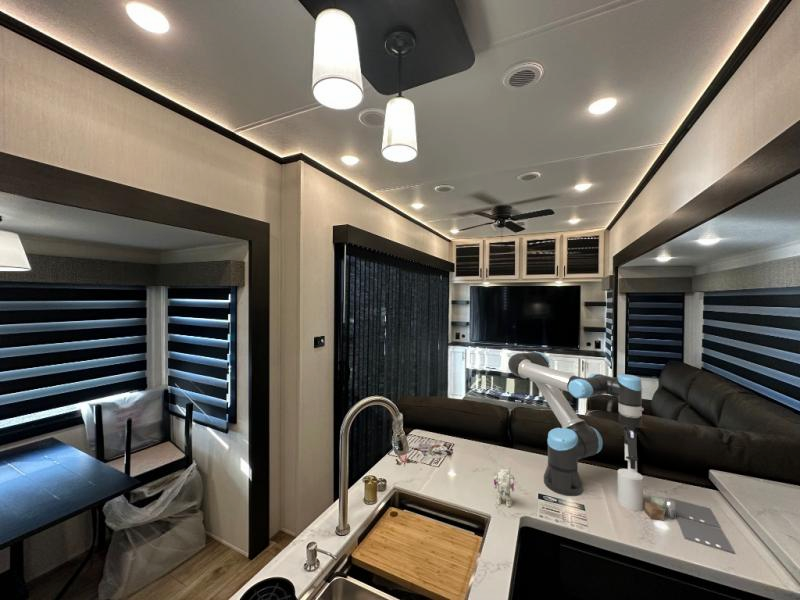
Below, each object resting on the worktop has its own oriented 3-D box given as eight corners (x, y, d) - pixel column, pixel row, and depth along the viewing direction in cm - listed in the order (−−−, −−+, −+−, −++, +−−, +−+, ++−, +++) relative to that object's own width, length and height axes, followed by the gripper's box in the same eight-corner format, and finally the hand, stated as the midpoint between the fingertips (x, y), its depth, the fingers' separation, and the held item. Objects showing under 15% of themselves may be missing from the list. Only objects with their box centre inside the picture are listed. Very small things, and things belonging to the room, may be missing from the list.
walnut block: (651, 519, 115) (651, 509, 115) (645, 512, 119) (645, 502, 119) (663, 521, 114) (663, 510, 114) (657, 513, 118) (657, 503, 118)
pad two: (676, 516, 117) (676, 514, 117) (669, 498, 127) (669, 497, 127) (720, 528, 111) (720, 527, 111) (709, 509, 121) (709, 507, 121)
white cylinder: (647, 512, 119) (647, 481, 119) (623, 509, 121) (623, 478, 121) (636, 499, 127) (635, 469, 127) (613, 496, 129) (613, 467, 129)
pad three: (684, 538, 106) (684, 537, 106) (676, 517, 116) (676, 516, 116) (734, 553, 100) (734, 552, 100) (721, 530, 110) (721, 528, 110)
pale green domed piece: (652, 507, 122) (652, 500, 122) (649, 501, 125) (649, 494, 125) (665, 511, 120) (665, 503, 120) (661, 504, 124) (662, 497, 124)
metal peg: (665, 517, 116) (665, 501, 116) (663, 512, 119) (663, 497, 119) (676, 520, 115) (676, 504, 115) (674, 515, 117) (674, 499, 117)
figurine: (518, 507, 122) (518, 469, 122) (503, 513, 119) (503, 474, 119) (503, 495, 129) (503, 459, 129) (489, 501, 126) (489, 464, 126)
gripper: (646, 427, 111) (647, 486, 111) (637, 407, 133) (638, 456, 132) (621, 423, 115) (621, 480, 115) (616, 404, 136) (617, 452, 136)
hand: (630, 468), depth 124 cm, fingers open, 13 cm apart
